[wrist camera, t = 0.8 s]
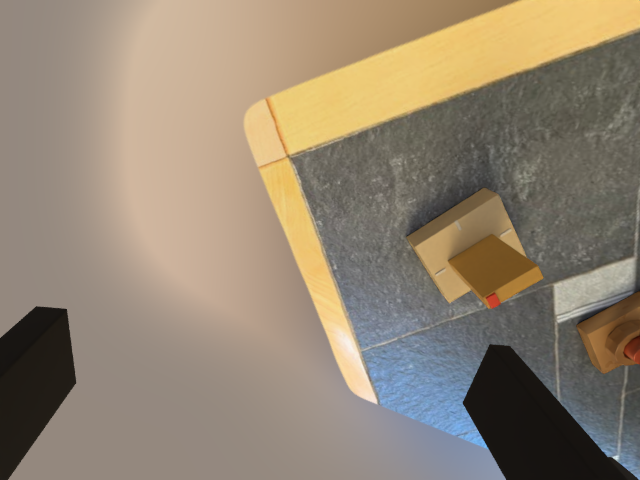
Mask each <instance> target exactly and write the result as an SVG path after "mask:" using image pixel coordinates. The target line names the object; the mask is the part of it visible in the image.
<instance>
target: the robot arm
mask: <svg viewBox="0 0 640 480" xmlns="http://www.w3.org/2000/svg"><path fill="white" fill-rule="evenodd" d="M75 384H76V377H75V369H74V362H73V354H72V346H71V338H70V330H69V323H68V315H67V309H61V308H49V307H37V306H36V307H35V308H34V309H33V310H32V311H30V312H29V313H28V314H27V315H26V316H25V317H24V318H23V319H21V321H19V322H18V323H17V324H16V325H15V326H13V327H12V328H11V329H10V330H9V331H8V332H7V333H6V334H4V335H3V336H2V337H1V338H0V480H8V479H9V477H10V476H11V475H12V473H13V472H14V470H15V469H16V467H17V466H18V465H19V463H20V462H21V460H22V459H23V457H24V456H25V455H26V453H27V452H28V450H29V449H30V447H31V446H32V445H33V443H34V442H35V441H36V439H37V437H38V436H39V435H40V433H41V432H42V431H43V429H44V428H45V426H46V425H47V423H48V422H49V420H50V419H51V418H52V416H53V415H54V414H55V412H56V411H57V409H58V408H59V406H60V405H61V404H62V402H63V401H64V399H65V398H66V397H67V395H68V394H69V392H70V390H71V389H72V388H73V387H74V385H75ZM463 405H464V406H465V408H466V410H467V412H468V413H469V415H470V417H471V419H472V420H473V422H474V424H475V426H476V427H477V429H478V431H479V433H480V434H481V436H482V438H483V440H484V441H485V443H486V445H487V447H488V448H489V450H490V452H491V453H492V455H493V457H494V459H495V460H496V462H497V464H498V466H499V468H500V469H501V471H502V473H503V475H504V476H505V478H506V480H638V478H637V477H635V476H634V475H633V474H632V473H631V472H629V471H628V470H627V469H626V468H624V467H623V466H622V465H621V464H620V463H618V462H617V461H616V460H615V459H613V458H612V457H607V456H606V455H605V454H604V452H603V451H602V450H601V449H600V448H599V447H598V446H597V444H596V443H595V442H594V441H593V440H592V439H591V438H590V436H589V435H588V434H587V433H586V432H585V431H584V430H583V429H582V427H581V426H580V425H579V424H578V423H577V422H576V421H575V419H574V418H573V417H572V416H571V415H570V414H569V413H568V411H567V410H566V409H565V408H564V407H563V406H562V405H561V404H560V402H559V401H558V400H557V399H556V398H555V397H554V396H553V394H552V393H551V392H550V391H549V390H548V389H547V388H546V386H545V385H544V384H543V383H542V382H541V381H540V380H539V379H538V377H537V376H536V375H535V374H534V373H533V372H532V371H531V369H530V368H529V367H528V366H527V365H526V364H525V363H524V361H523V360H522V359H521V358H520V357H519V356H518V355H517V354H516V352H515V351H514V350H513V349H512V348H511V347H510V346H504V345H492V344H490V345H489V347H488V349H487V351H486V354H485V356H484V358H483V360H482V362H481V364H480V367H479V369H478V371H477V373H476V375H475V377H474V379H473V382H472V384H471V386H470V388H469V390H468V392H467V395H466V397H465V399H464V401H463Z"/></svg>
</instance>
